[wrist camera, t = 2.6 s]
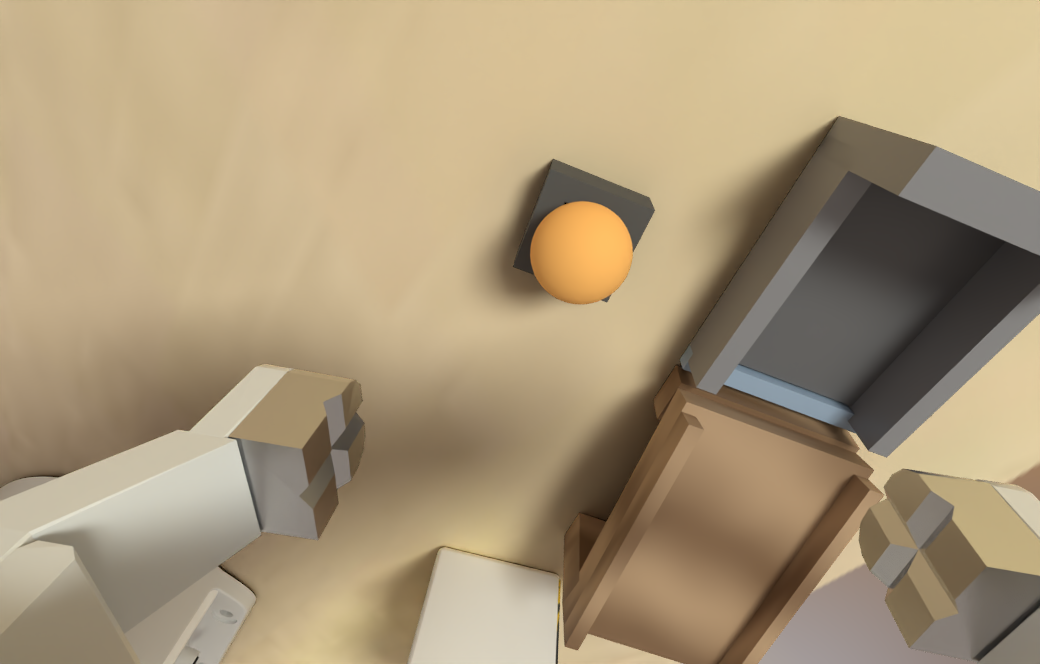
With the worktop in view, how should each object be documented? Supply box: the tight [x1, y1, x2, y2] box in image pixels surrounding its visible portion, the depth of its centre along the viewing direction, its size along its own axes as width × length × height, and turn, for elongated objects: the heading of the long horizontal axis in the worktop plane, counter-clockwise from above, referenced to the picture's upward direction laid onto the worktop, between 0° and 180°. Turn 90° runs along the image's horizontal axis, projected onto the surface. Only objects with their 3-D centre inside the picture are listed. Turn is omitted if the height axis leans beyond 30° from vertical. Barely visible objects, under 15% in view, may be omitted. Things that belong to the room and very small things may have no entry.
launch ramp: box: [562, 365, 884, 664], centre depth 22 cm, size 12×8×6 cm, turn 160°
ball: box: [530, 201, 633, 304], centre depth 16 cm, size 3×3×3 cm
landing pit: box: [680, 116, 1040, 457], centre depth 16 cm, size 10×8×5 cm
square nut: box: [513, 159, 655, 302], centre depth 18 cm, size 4×4×2 cm
